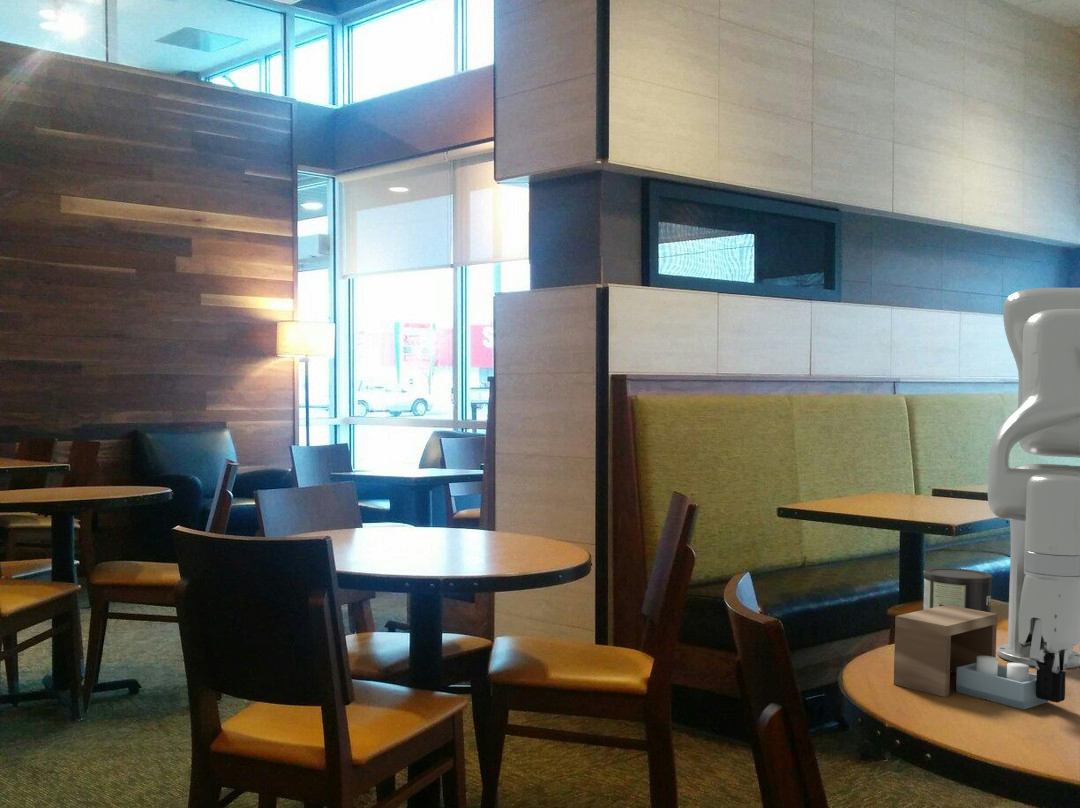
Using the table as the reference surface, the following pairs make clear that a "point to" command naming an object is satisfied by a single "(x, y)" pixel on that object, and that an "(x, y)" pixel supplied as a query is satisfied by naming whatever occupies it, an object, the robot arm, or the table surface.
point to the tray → (999, 682)
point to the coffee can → (957, 588)
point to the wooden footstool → (940, 645)
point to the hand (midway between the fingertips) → (1050, 699)
